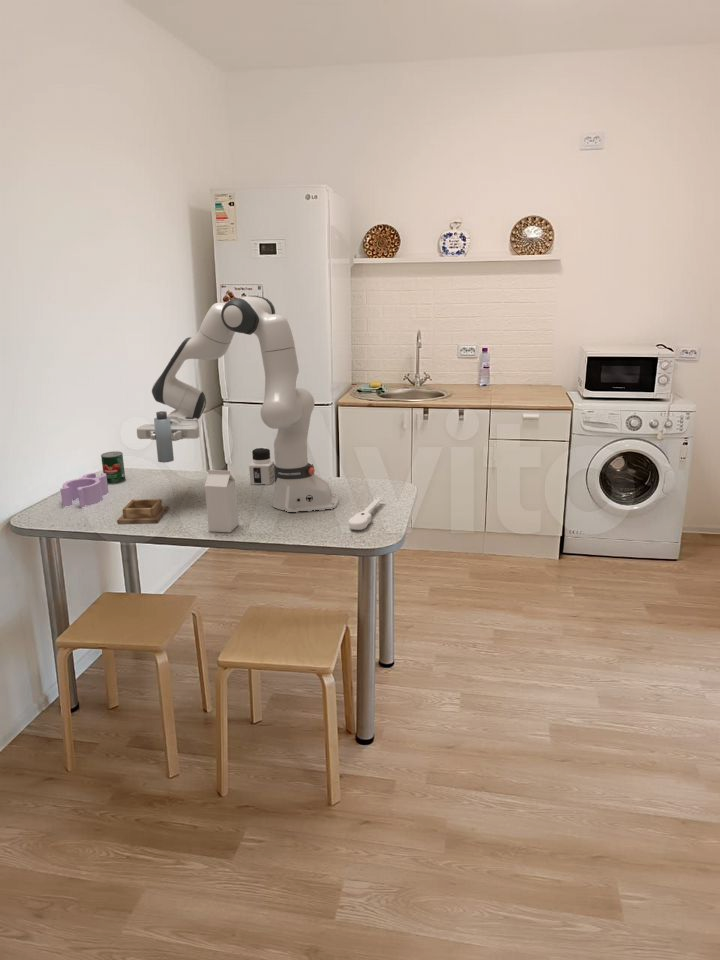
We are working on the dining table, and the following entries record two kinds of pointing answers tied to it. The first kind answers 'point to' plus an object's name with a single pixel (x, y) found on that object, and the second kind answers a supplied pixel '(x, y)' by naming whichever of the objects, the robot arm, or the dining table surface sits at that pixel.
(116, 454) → the canned tomato
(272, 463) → the container
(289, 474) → the robot arm
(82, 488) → the clip
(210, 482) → the milk carton
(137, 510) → the carton stand
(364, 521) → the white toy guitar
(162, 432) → the bottle
